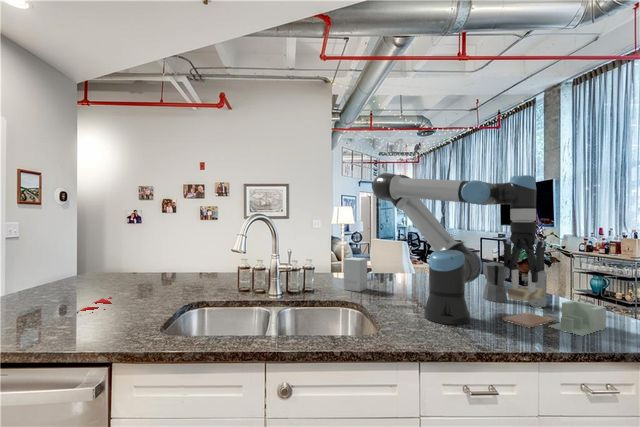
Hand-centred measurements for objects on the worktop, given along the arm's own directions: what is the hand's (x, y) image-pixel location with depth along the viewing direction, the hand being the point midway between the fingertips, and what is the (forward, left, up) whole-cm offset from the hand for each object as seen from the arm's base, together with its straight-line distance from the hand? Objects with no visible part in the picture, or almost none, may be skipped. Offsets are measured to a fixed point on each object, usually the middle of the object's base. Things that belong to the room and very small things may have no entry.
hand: (523, 290), depth 115 cm
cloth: (-129, +90, -12) cm, 158 cm away
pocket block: (+9, -11, -11) cm, 18 cm away
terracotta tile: (+3, 0, -11) cm, 11 cm away
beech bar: (+2, 0, -3) cm, 3 cm away
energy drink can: (+25, +10, -11) cm, 29 cm away
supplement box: (-22, +69, -11) cm, 73 cm away
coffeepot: (+19, +24, -11) cm, 32 cm away
